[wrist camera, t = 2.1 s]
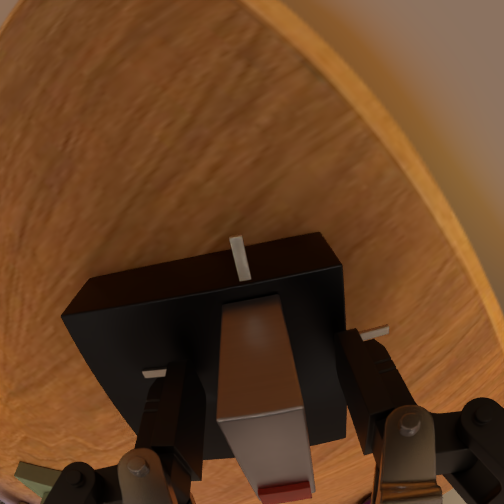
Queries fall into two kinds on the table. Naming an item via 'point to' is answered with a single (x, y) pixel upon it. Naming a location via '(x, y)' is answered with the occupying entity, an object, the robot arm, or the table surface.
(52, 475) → the switch
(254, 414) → the rotary knob
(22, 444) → the table surface
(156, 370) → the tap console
